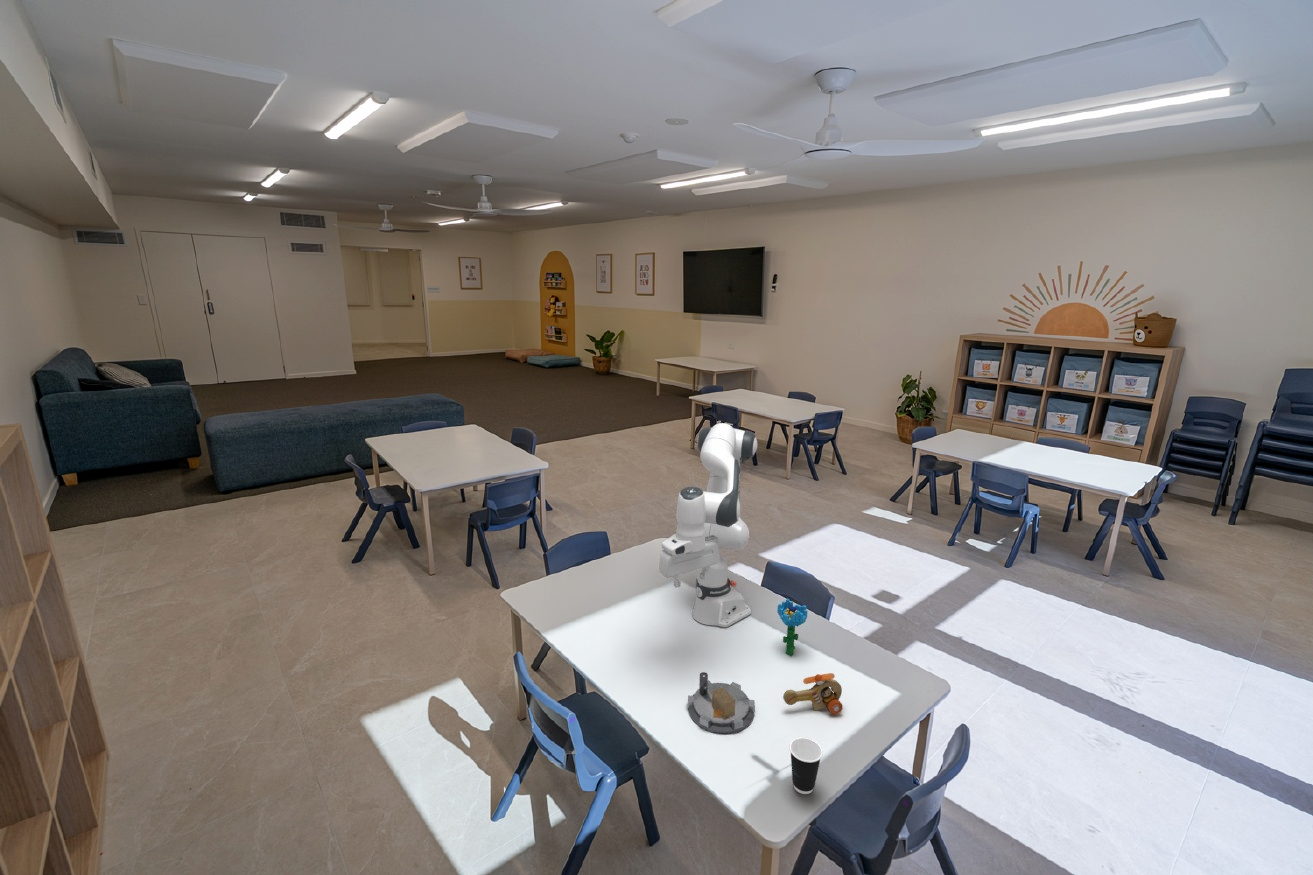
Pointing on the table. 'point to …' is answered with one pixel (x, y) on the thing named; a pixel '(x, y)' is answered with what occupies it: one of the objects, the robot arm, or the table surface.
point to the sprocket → (709, 714)
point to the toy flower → (791, 621)
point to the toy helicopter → (818, 693)
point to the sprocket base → (721, 729)
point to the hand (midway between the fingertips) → (689, 582)
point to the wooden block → (723, 703)
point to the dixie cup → (805, 763)
